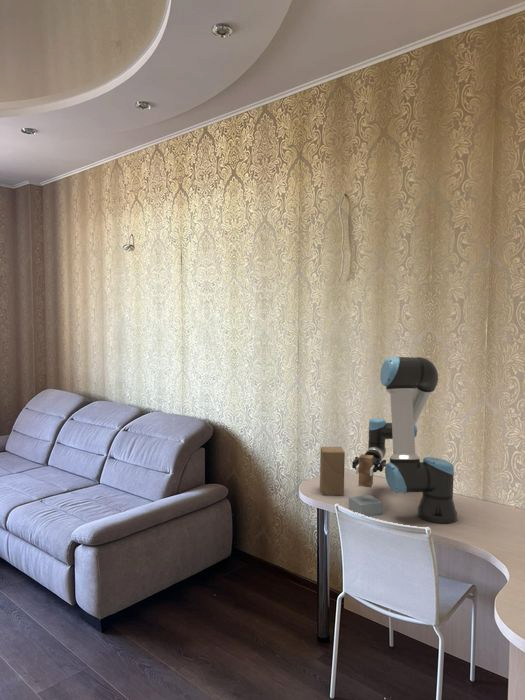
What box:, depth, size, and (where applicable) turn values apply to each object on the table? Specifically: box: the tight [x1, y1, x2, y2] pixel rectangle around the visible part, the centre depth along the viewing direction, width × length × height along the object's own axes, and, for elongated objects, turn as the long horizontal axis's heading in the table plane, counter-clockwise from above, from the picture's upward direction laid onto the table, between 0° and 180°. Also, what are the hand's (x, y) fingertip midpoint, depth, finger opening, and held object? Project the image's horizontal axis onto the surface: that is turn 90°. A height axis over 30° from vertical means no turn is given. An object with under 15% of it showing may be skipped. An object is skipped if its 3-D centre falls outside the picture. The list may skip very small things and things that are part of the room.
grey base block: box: [348, 494, 383, 517], centre depth 210 cm, size 10×10×5 cm
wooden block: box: [319, 446, 346, 496], centre depth 233 cm, size 10×10×20 cm
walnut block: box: [358, 453, 374, 488], centre depth 209 cm, size 5×5×12 cm
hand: (363, 471), depth 204 cm, fingers closed on walnut block, 5 cm apart
